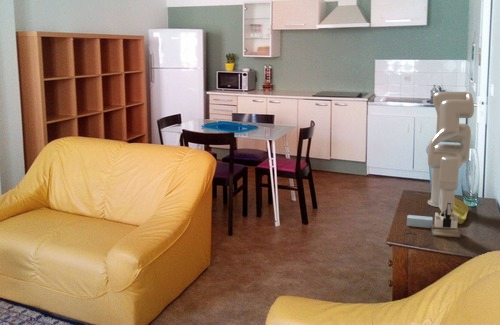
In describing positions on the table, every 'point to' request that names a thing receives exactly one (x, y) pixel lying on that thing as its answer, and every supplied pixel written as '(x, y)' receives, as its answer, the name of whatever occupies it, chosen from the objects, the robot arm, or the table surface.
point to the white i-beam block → (440, 221)
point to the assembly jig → (445, 231)
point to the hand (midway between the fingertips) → (445, 224)
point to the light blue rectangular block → (419, 221)
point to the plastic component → (459, 210)
